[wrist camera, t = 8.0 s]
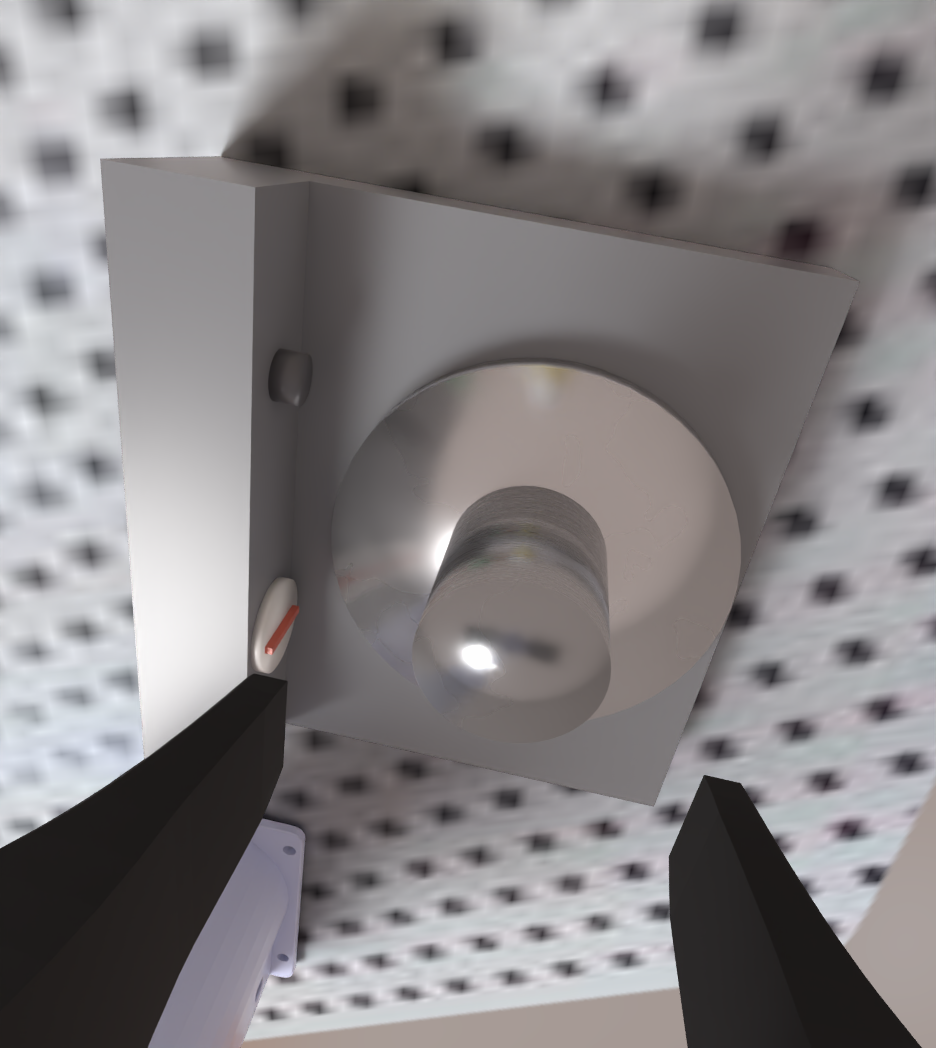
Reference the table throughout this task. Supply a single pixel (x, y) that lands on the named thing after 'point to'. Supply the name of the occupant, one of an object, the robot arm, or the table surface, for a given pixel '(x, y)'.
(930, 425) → the table surface
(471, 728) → the cylinder
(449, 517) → the pan
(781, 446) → the scale
